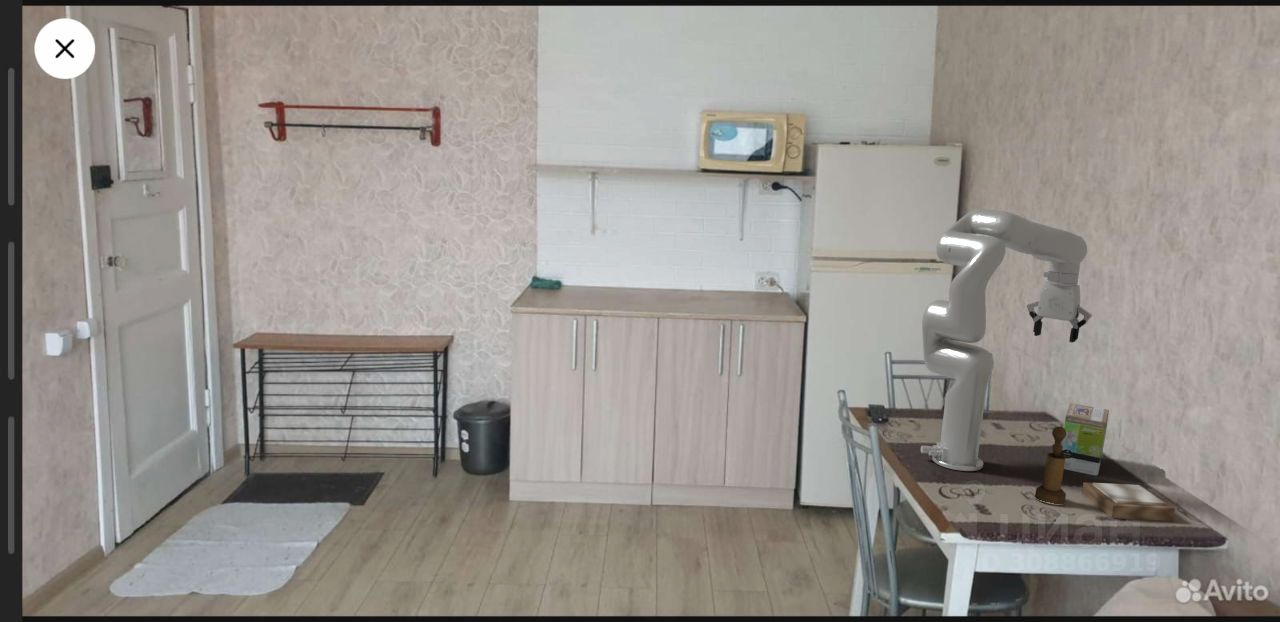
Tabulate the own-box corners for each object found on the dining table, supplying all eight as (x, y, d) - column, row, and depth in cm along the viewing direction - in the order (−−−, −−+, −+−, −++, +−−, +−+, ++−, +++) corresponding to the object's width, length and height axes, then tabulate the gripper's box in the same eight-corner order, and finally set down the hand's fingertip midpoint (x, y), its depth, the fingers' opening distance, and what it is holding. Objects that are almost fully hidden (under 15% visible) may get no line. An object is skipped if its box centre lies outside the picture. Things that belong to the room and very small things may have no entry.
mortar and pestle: (1069, 506, 207) (1080, 432, 204) (1041, 505, 207) (1052, 431, 204) (1057, 495, 214) (1067, 423, 210) (1030, 494, 214) (1040, 422, 211)
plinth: (1111, 517, 202) (1113, 502, 201) (1081, 494, 215) (1083, 480, 215) (1173, 520, 202) (1175, 505, 201) (1139, 497, 216) (1141, 482, 215)
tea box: (1099, 477, 228) (1107, 421, 226) (1056, 468, 233) (1064, 414, 230) (1101, 460, 241) (1109, 408, 239) (1061, 452, 246) (1068, 401, 243)
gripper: (1026, 275, 252) (1018, 334, 255) (1091, 284, 240) (1082, 346, 243) (1036, 273, 257) (1029, 331, 260) (1100, 282, 245) (1091, 342, 248)
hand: (1054, 338), depth 252 cm, fingers open, 9 cm apart
